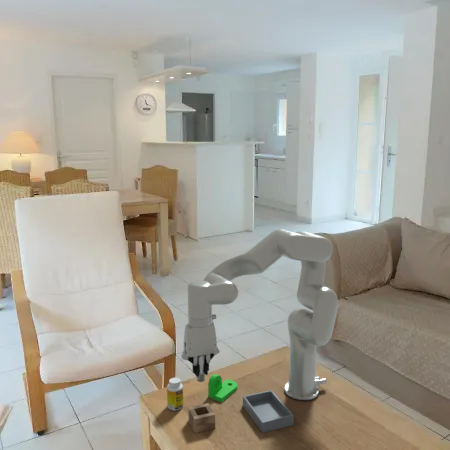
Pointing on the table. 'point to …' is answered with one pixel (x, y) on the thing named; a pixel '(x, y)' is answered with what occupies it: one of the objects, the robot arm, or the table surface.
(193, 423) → the bore block
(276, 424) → the tray
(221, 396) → the mechanical part
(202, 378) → the pin gauge
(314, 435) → the table surface
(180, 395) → the supplement bottle
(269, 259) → the robot arm
